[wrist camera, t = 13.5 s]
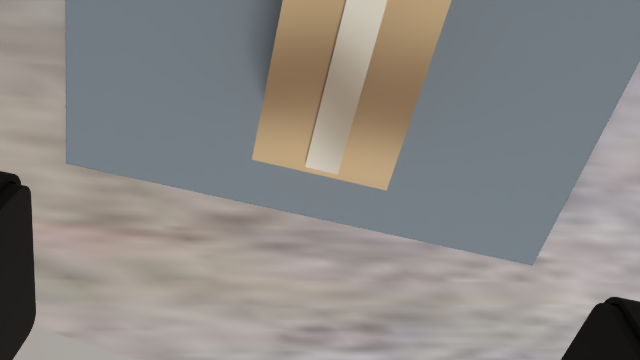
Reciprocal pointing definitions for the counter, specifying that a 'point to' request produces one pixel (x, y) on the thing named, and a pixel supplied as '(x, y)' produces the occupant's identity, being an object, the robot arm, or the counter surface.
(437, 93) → the mat
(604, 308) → the robot arm
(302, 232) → the counter surface
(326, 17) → the taped cardboard box
